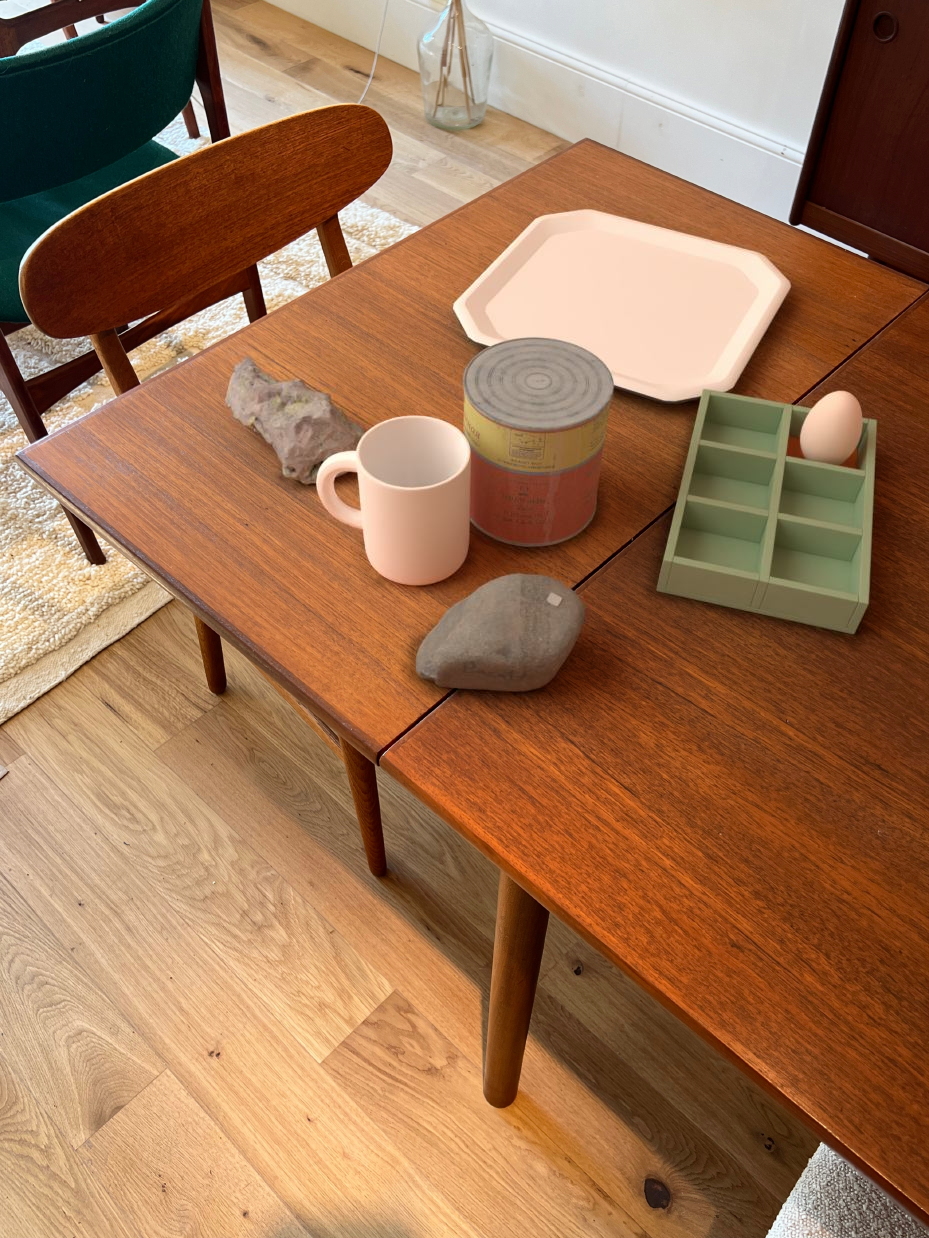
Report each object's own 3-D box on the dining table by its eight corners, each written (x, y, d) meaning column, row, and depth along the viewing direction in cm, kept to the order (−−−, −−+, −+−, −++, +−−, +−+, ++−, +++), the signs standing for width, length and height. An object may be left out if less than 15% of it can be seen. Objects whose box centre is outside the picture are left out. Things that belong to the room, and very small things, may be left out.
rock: (199, 428, 89) (184, 365, 84) (260, 391, 93) (249, 329, 88) (321, 507, 83) (312, 444, 78) (381, 464, 86) (376, 401, 81)
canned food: (526, 438, 89) (534, 320, 80) (623, 500, 83) (644, 382, 74) (434, 497, 84) (431, 379, 74) (532, 568, 78) (542, 449, 69)
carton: (864, 451, 88) (877, 419, 85) (854, 634, 74) (869, 603, 72) (695, 419, 91) (703, 388, 88) (655, 591, 77) (663, 559, 74)
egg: (809, 487, 84) (835, 417, 78) (781, 453, 87) (804, 382, 81) (857, 476, 85) (886, 405, 79) (828, 442, 88) (853, 372, 82)
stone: (437, 597, 76) (500, 526, 68) (534, 653, 78) (606, 590, 70) (400, 688, 70) (464, 622, 63) (506, 747, 72) (580, 689, 65)
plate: (799, 281, 106) (804, 262, 104) (711, 434, 89) (716, 414, 88) (552, 216, 115) (553, 197, 113) (430, 344, 98) (429, 325, 96)
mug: (306, 568, 78) (289, 468, 70) (341, 499, 83) (330, 398, 75) (453, 599, 76) (453, 499, 68) (480, 526, 81) (483, 425, 73)
